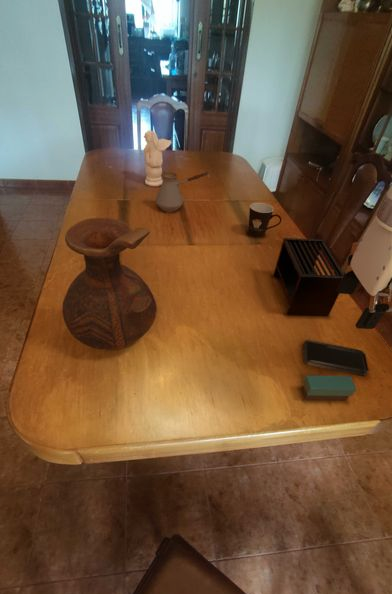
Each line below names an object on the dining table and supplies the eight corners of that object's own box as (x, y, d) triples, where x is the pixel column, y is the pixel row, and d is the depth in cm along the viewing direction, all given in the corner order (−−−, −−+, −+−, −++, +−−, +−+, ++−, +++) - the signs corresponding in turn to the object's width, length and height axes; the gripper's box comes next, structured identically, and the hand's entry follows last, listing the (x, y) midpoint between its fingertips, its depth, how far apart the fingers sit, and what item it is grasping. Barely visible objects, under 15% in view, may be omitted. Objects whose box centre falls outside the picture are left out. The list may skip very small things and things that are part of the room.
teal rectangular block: (342, 388, 73) (350, 375, 69) (347, 401, 70) (356, 389, 67) (299, 387, 72) (306, 375, 69) (304, 400, 70) (310, 388, 66)
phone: (369, 374, 75) (305, 361, 76) (367, 377, 75) (303, 364, 77) (364, 350, 80) (304, 338, 81) (362, 353, 81) (303, 341, 82)
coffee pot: (153, 212, 129) (152, 172, 118) (157, 201, 137) (156, 162, 126) (205, 217, 129) (209, 177, 118) (206, 205, 137) (210, 167, 126)
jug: (67, 368, 71) (24, 245, 50) (70, 307, 85) (37, 191, 64) (163, 355, 76) (162, 238, 54) (151, 300, 90) (146, 189, 68)
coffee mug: (240, 232, 122) (245, 206, 115) (254, 226, 127) (260, 200, 119) (263, 244, 117) (270, 218, 110) (277, 238, 121) (285, 212, 114)
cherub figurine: (145, 178, 154) (143, 124, 138) (170, 179, 156) (171, 126, 140) (144, 187, 146) (141, 131, 130) (171, 189, 147) (171, 133, 131)
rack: (308, 276, 104) (323, 239, 95) (328, 316, 90) (347, 278, 81) (273, 275, 103) (283, 237, 94) (287, 315, 89) (301, 276, 80)
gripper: (469, 247, 39) (395, 344, 51) (403, 193, 51) (355, 282, 63) (412, 243, 38) (350, 342, 51) (358, 189, 50) (319, 280, 63)
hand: (353, 309), depth 57 cm, fingers open, 9 cm apart
